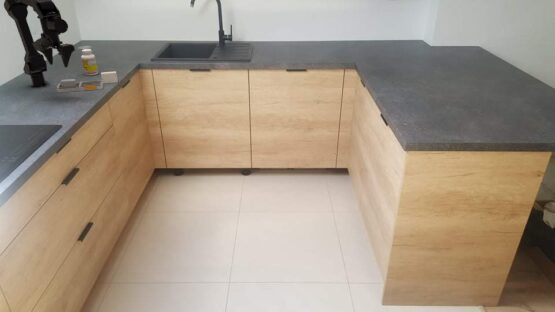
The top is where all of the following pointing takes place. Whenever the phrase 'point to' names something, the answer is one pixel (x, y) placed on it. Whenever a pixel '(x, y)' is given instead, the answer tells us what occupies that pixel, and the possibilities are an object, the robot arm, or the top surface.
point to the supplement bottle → (89, 62)
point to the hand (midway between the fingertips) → (58, 65)
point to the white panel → (109, 77)
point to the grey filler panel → (68, 83)
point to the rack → (82, 86)
